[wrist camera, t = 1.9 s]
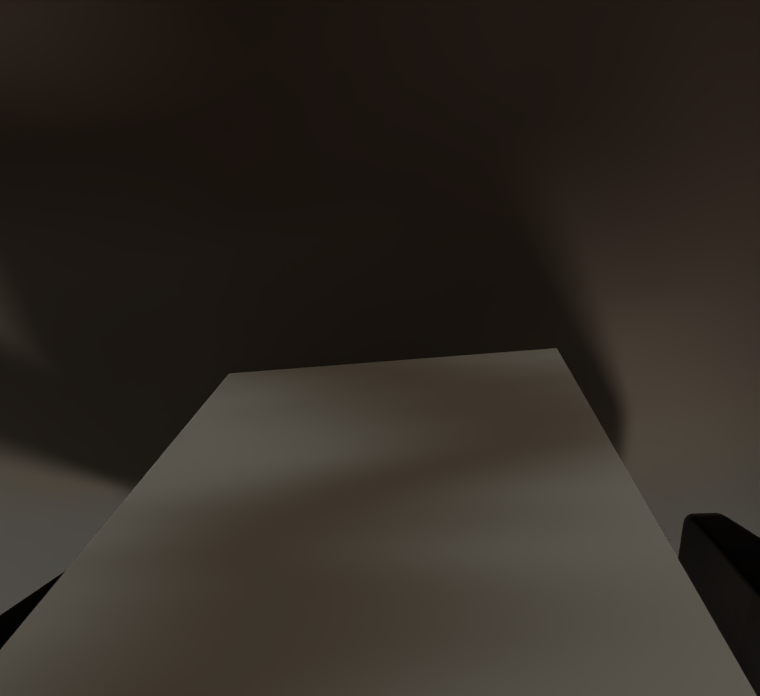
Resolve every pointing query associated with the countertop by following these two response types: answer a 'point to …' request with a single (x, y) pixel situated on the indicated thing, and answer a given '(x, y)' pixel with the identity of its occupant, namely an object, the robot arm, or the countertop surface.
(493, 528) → the maple block
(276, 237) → the countertop surface
